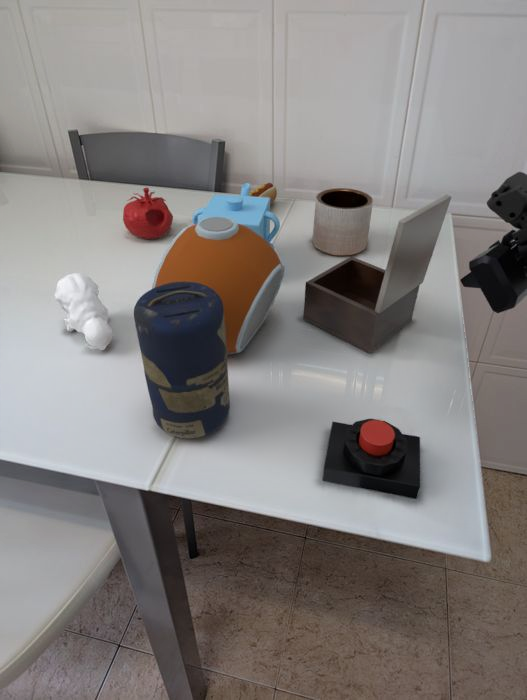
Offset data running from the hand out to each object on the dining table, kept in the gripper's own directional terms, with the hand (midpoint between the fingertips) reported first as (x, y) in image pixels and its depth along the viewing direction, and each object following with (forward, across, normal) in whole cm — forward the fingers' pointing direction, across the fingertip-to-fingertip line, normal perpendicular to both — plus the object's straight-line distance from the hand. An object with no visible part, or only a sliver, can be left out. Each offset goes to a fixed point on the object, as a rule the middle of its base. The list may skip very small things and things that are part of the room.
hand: (463, 282), depth 62 cm
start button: (+4, +22, +9) cm, 24 cm away
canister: (+21, +32, -3) cm, 38 cm away
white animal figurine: (+38, +31, -20) cm, 53 cm away
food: (+49, -20, -31) cm, 61 cm away
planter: (+32, -19, -14) cm, 40 cm away
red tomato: (+54, +4, -36) cm, 65 cm away
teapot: (+39, -1, -21) cm, 45 cm away
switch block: (+7, +22, +12) cm, 26 cm away
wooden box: (+19, 0, -1) cm, 19 cm away
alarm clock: (+29, +17, -10) cm, 35 cm away
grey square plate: (+5, 0, -6) cm, 8 cm away
